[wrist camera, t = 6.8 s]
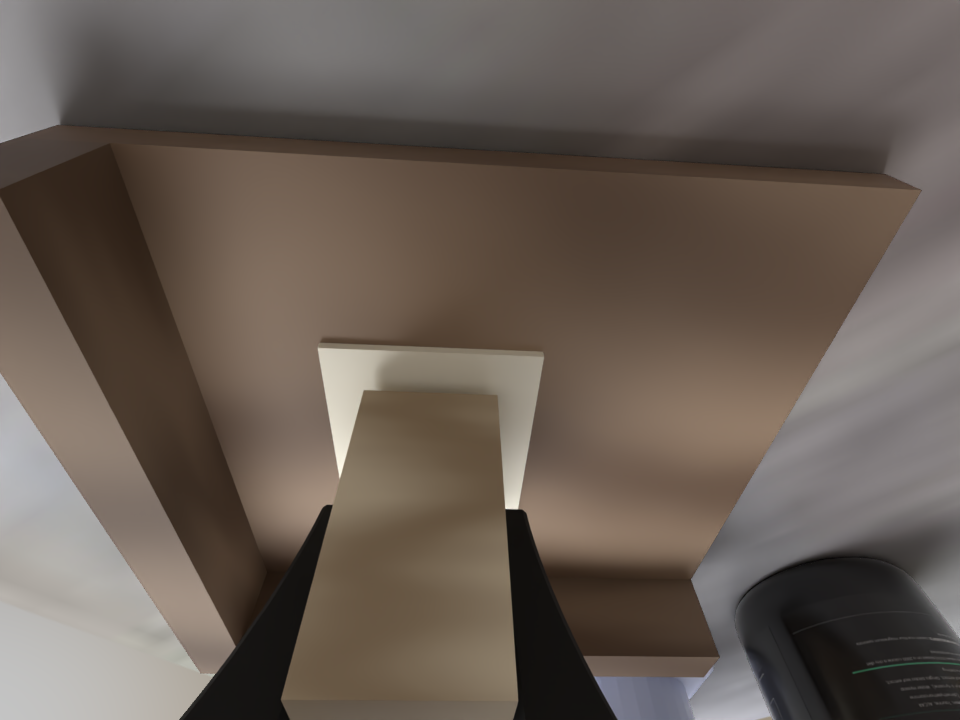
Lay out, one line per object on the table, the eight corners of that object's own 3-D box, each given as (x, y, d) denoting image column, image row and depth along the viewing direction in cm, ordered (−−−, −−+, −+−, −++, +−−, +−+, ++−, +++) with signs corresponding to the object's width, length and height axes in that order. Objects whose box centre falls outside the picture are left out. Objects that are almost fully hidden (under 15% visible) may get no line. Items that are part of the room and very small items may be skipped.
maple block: (497, 394, 11) (519, 710, 6) (483, 526, 14) (489, 809, 9) (363, 390, 11) (278, 709, 6) (377, 524, 14) (327, 810, 9)
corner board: (669, 575, 19) (703, 677, 16) (242, 567, 18) (200, 673, 15) (885, 174, 10) (1049, 246, 7) (57, 125, 9) (-126, 183, 6)
